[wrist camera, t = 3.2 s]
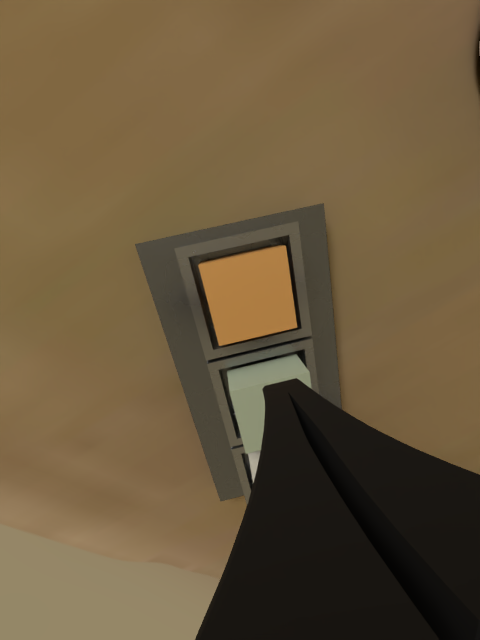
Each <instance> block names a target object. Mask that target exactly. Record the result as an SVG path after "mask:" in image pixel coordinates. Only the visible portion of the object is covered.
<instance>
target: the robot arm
mask: <svg viewBox="0 0 480 640" xmlns="http://www.w3.org/2000/svg"><path fill="white" fill-rule="evenodd" d="M262 390H263V395H264V400H265V419H264V431H263V438H262V445H261V451H260V457H259V462H258V466H257V471H256V475H255V479H254V483H253V487H252V490H251V494H250V497H249V501H248V504H247V508H246V511H245V514H244V517H243V520H242V523H241V526H240V529H239V531H238V534H237V537H236V540H235V543H234V545H233V548H232V551H231V554H230V557H229V559H228V562H227V565H226V567H225V570H224V572H223V575H222V577H221V579H220V582H219V584H218V587H217V589H216V592H215V594H214V596H213V599H212V601H211V603H210V605H209V608H208V610H207V613H206V615H205V617H204V620H203V622H202V625H201V627H200V629H199V631H198V634H197V636H196V639H195V640H480V475H479V474H476V473H474V472H471V471H468V470H466V469H463V468H461V467H458V466H455V465H453V464H450V463H448V462H446V461H443V460H441V459H438V458H436V457H434V456H431V455H429V454H426V453H424V452H422V451H419V450H417V449H415V448H413V447H411V446H408V445H406V444H404V443H402V442H400V441H398V440H396V439H394V438H392V437H390V436H388V435H386V434H384V433H382V432H380V431H378V430H376V429H374V428H372V427H370V426H368V425H367V424H365V423H363V422H361V421H360V420H358V419H356V418H355V417H353V416H351V415H350V414H348V413H346V412H345V411H343V410H342V409H340V408H339V407H337V406H336V405H334V404H332V403H331V402H329V401H328V400H326V399H325V398H324V397H322V396H321V395H319V394H318V393H317V392H315V391H314V390H312V389H311V388H310V387H308V386H307V385H306V384H304V383H303V382H302V381H300V380H299V379H297V378H295V379H291V380H287V381H282V382H278V383H274V384H270V385H266V386H264V388H263V389H262Z"/></svg>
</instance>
